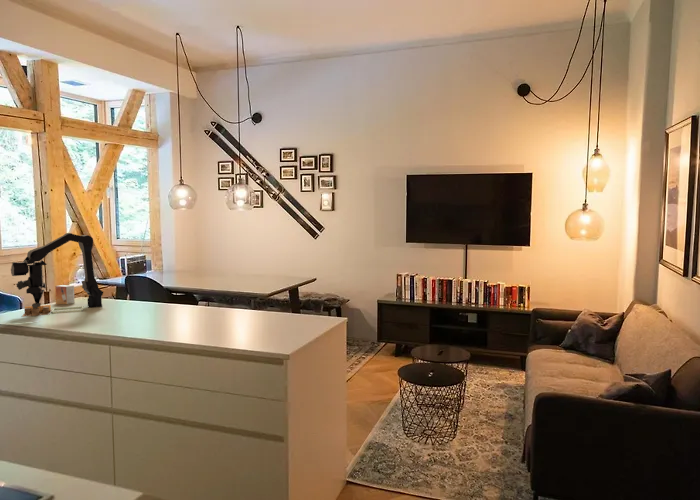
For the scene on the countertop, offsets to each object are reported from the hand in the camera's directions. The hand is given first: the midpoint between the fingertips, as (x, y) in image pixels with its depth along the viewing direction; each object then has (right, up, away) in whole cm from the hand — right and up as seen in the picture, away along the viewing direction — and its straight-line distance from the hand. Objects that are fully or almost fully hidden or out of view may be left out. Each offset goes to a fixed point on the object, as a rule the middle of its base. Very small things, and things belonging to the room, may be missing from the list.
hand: (37, 304), depth 257 cm
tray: (+12, -5, +7) cm, 14 cm away
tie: (+2, -1, -4) cm, 4 cm away
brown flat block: (0, -5, 0) cm, 5 cm away
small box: (-1, -3, +28) cm, 28 cm away
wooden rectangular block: (0, -4, +1) cm, 4 cm away
